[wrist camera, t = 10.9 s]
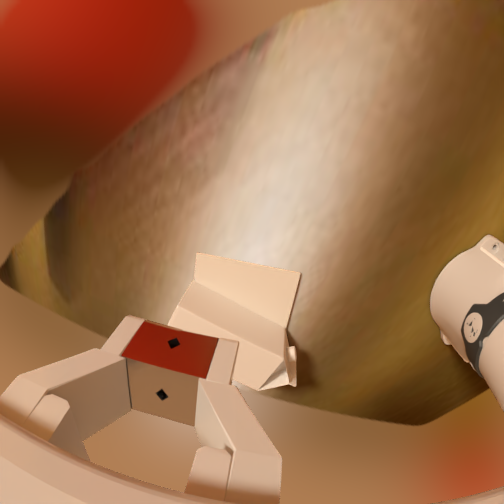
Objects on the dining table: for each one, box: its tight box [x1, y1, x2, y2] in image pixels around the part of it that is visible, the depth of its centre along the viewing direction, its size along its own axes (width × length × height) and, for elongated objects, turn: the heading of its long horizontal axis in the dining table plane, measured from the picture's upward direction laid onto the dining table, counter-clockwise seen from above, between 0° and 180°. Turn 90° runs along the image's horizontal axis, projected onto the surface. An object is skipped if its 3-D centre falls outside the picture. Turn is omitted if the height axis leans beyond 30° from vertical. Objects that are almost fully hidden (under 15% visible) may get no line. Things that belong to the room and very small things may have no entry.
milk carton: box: [167, 280, 297, 391], centre depth 44 cm, size 7×7×19 cm
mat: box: [194, 252, 301, 329], centre depth 46 cm, size 14×13×1 cm
